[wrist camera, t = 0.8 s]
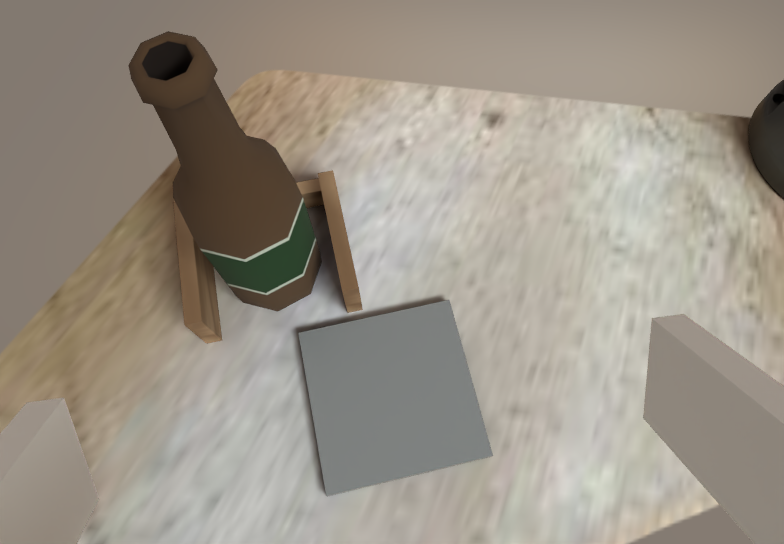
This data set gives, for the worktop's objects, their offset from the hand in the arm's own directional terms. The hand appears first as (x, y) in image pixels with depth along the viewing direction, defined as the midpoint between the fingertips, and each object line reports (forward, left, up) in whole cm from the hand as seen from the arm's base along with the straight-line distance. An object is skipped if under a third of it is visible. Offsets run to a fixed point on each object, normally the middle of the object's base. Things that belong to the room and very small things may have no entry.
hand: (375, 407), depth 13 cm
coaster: (-1, -5, -30) cm, 31 cm away
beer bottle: (+6, -17, -30) cm, 35 cm away
